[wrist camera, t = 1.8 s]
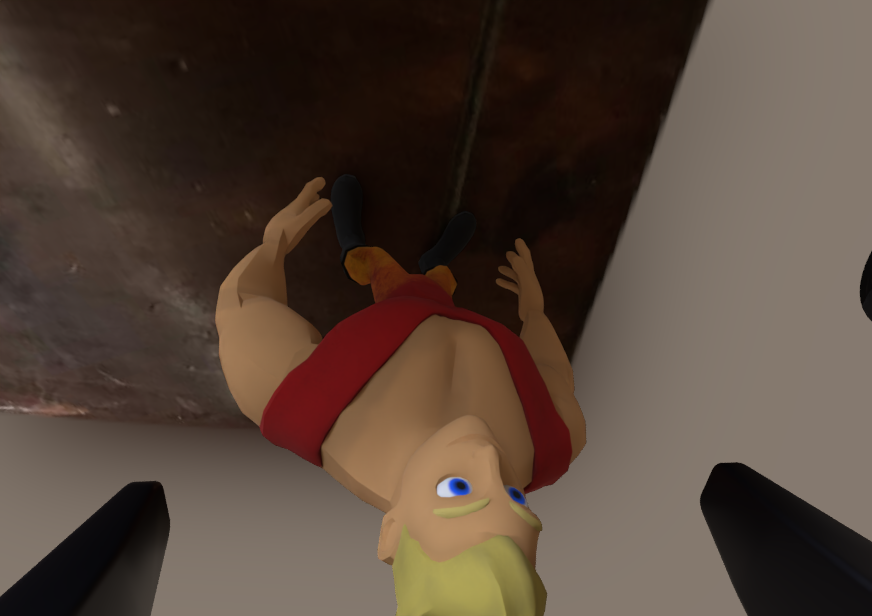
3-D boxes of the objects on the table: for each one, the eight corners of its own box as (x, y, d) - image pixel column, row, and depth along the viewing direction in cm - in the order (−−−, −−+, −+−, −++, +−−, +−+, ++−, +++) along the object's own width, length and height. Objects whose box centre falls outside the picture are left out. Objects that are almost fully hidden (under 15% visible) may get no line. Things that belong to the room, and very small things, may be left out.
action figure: (535, 218, 20) (884, 614, 7) (498, 300, 21) (724, 754, 8) (277, 135, 17) (35, 516, 4) (255, 235, 19) (26, 746, 6)
